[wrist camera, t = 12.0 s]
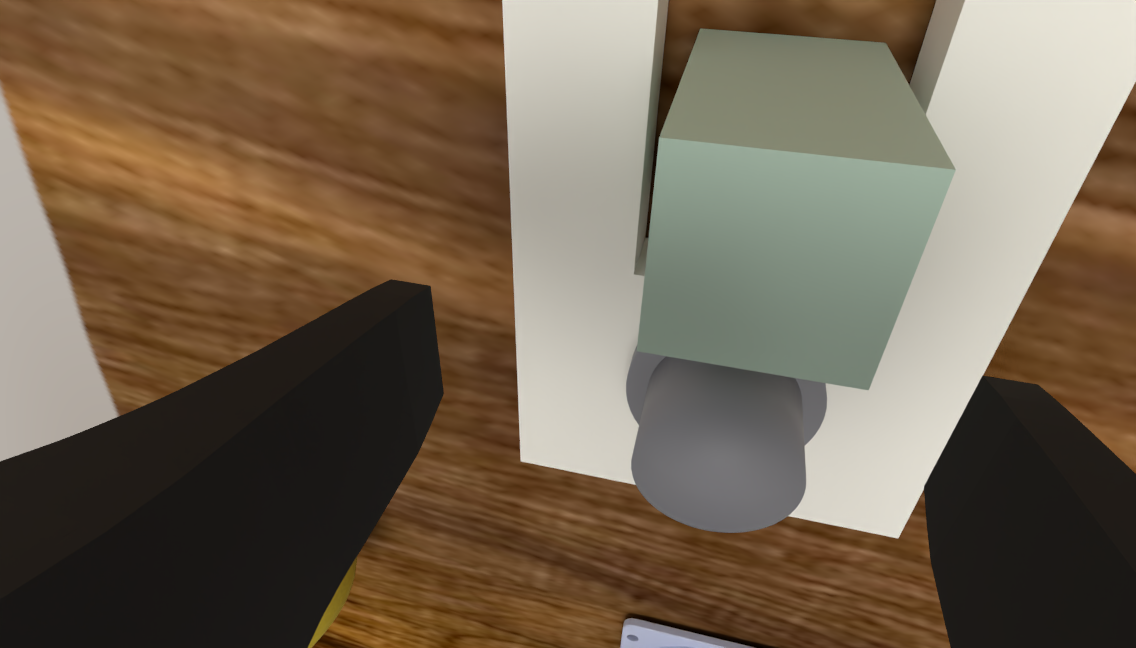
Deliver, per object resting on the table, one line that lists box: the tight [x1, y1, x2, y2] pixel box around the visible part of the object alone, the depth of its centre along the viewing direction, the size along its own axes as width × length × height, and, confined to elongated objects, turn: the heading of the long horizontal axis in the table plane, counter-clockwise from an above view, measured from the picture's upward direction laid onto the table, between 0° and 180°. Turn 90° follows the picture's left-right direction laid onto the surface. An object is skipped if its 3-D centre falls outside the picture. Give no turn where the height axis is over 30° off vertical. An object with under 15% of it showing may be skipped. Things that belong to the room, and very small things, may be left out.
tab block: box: [637, 28, 956, 390], centre depth 13 cm, size 4×4×7 cm
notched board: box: [502, 0, 1136, 538], centre depth 16 cm, size 15×12×6 cm
